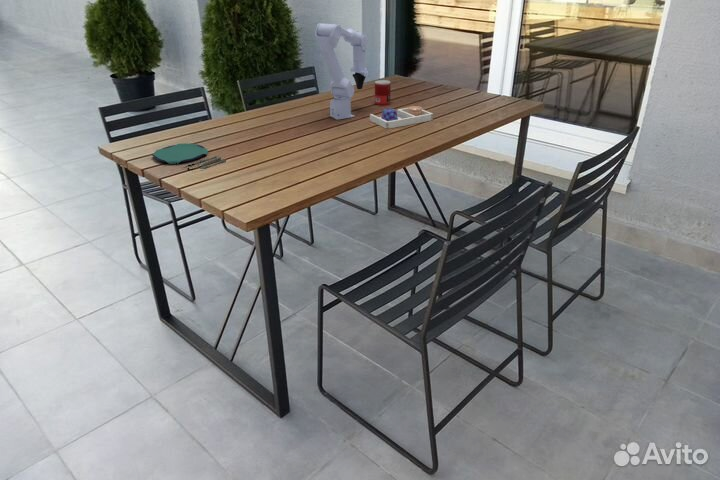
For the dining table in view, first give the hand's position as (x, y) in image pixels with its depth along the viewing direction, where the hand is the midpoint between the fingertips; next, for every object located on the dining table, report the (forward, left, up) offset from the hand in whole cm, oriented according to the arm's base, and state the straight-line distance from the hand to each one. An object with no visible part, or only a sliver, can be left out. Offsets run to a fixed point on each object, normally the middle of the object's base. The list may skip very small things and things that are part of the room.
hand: (359, 88), depth 266 cm
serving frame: (+7, -28, -10) cm, 30 cm away
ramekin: (+14, -28, -10) cm, 32 cm away
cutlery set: (-92, -26, -11) cm, 96 cm away
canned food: (+15, +3, -10) cm, 18 cm away
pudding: (+2, -24, -10) cm, 27 cm away
